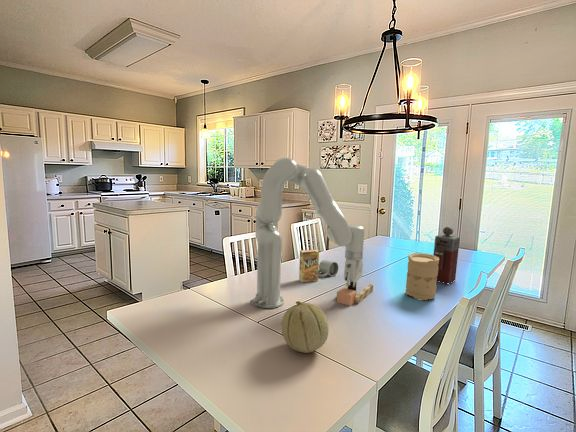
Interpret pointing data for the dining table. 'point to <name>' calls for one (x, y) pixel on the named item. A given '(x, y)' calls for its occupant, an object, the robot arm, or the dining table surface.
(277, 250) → the robot arm
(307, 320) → the cantaloupe
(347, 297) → the block
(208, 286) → the dining table surface
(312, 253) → the candy box
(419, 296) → the container
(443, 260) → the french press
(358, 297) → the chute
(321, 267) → the ceramic mug
